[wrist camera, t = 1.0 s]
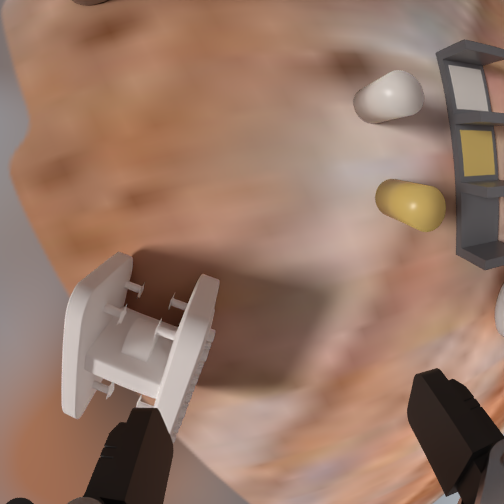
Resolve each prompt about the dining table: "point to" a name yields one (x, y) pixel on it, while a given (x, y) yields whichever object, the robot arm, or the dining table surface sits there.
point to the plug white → (389, 98)
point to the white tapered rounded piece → (500, 312)
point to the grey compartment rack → (474, 150)
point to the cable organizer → (134, 343)
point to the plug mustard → (411, 203)
